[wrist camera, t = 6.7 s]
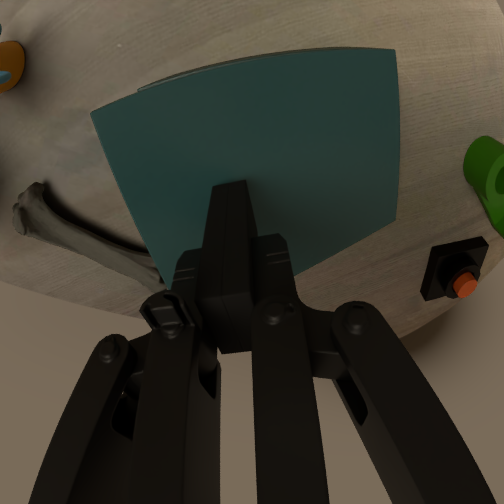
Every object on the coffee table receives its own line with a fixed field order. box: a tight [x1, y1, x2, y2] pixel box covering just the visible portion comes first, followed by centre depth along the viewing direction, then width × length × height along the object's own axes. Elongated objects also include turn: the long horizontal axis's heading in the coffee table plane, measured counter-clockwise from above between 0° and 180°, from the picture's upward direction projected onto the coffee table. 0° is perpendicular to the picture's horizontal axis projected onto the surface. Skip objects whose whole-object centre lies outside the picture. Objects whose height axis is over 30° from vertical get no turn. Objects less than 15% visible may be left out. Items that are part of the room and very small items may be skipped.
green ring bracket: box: [463, 136, 504, 239], centre depth 26 cm, size 15×7×5 cm, turn 53°
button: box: [453, 272, 477, 298], centre depth 34 cm, size 4×4×2 cm
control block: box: [420, 236, 489, 301], centre depth 35 cm, size 10×9×4 cm
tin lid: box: [90, 49, 400, 290], centre depth 15 cm, size 16×13×1 cm
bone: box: [12, 182, 167, 293], centre depth 29 cm, size 22×6×6 cm, turn 54°
